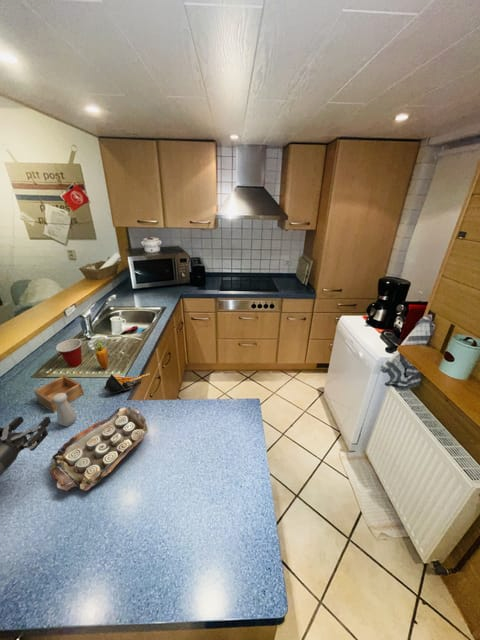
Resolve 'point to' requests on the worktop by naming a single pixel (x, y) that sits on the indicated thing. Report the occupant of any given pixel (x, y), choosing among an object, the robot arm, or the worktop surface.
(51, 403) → the box
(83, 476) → the baking tray
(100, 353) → the carrot
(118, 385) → the fried shrimp in bowl
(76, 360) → the plastic cup
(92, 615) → the worktop surface
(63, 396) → the salt shaker
